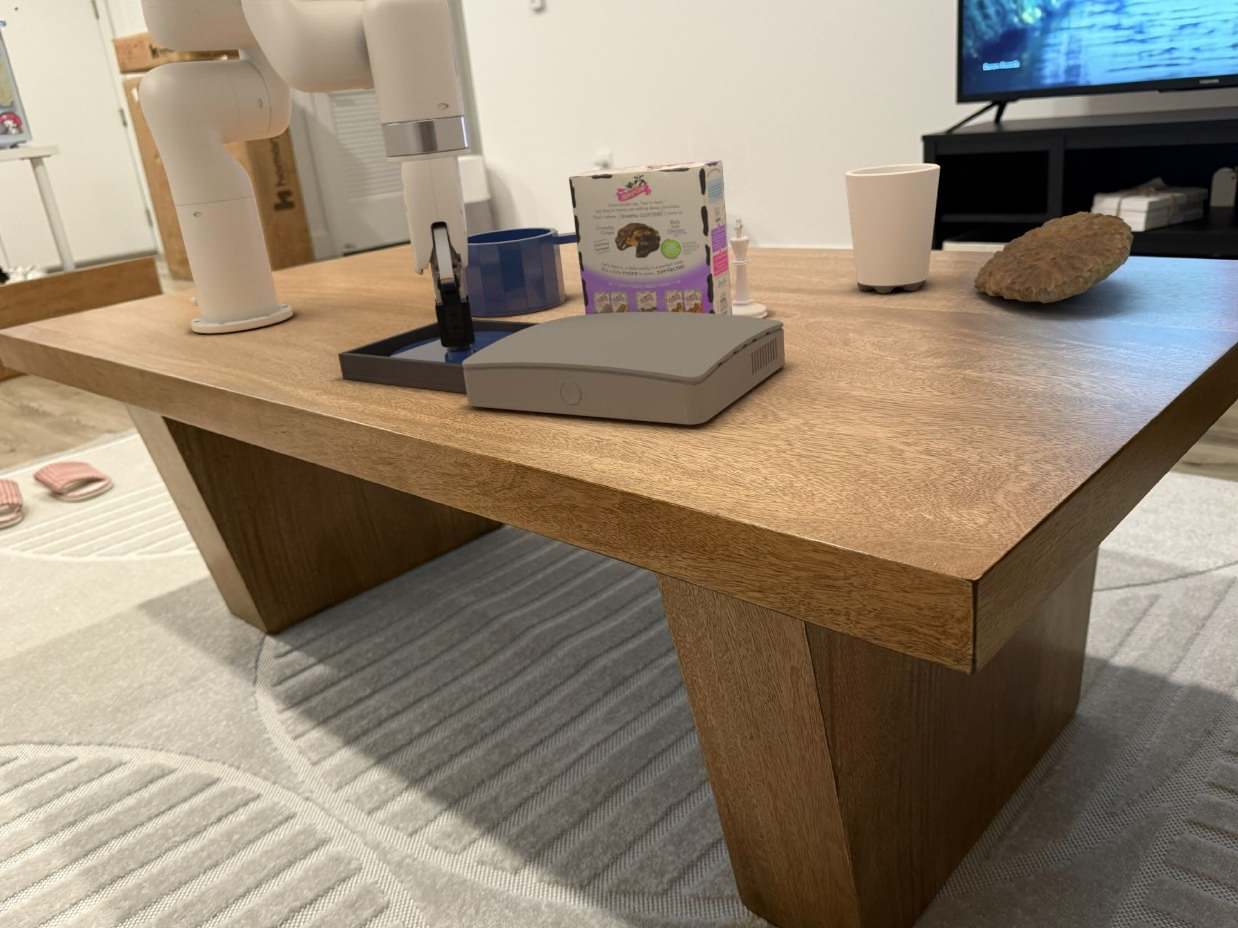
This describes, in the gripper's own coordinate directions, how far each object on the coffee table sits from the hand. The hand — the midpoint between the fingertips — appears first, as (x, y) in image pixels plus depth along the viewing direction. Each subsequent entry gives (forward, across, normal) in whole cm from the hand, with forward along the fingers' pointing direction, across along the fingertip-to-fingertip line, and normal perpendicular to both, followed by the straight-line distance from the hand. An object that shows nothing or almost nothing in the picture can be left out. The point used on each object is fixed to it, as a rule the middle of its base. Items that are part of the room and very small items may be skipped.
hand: (458, 339), depth 95 cm
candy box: (+3, 0, +20) cm, 20 cm away
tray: (+2, 0, 0) cm, 2 cm away
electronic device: (+3, +15, +14) cm, 21 cm away
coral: (+3, +6, +58) cm, 58 cm away
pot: (+2, -27, +7) cm, 28 cm away
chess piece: (+3, -4, +30) cm, 30 cm away
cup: (+3, -8, +48) cm, 49 cm away
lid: (+1, 0, 0) cm, 1 cm away
